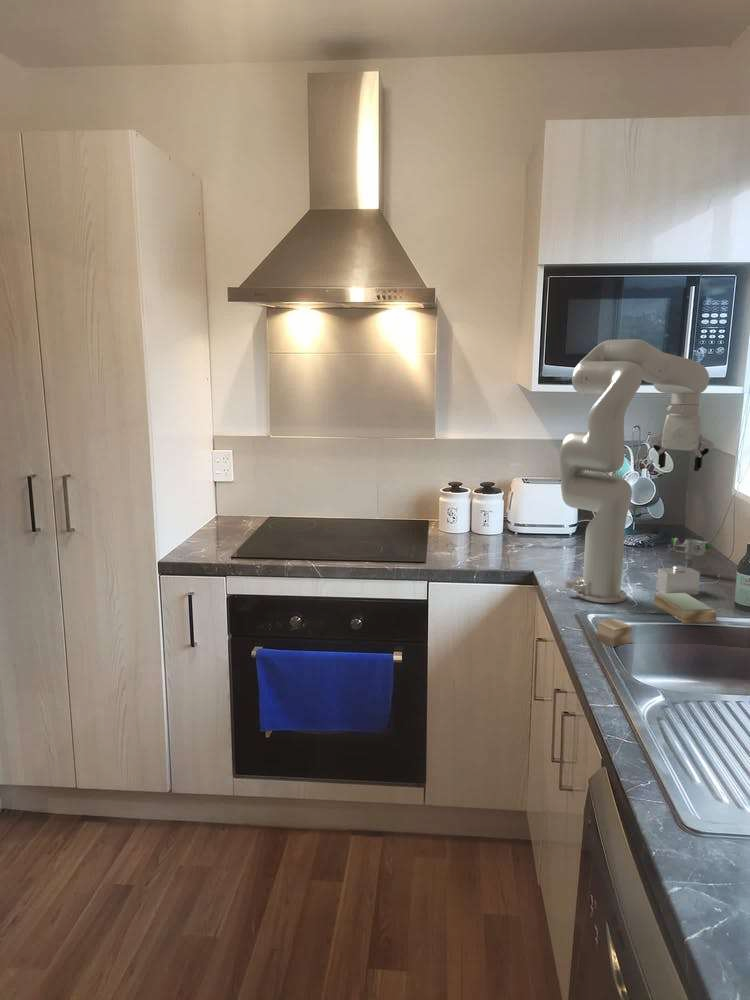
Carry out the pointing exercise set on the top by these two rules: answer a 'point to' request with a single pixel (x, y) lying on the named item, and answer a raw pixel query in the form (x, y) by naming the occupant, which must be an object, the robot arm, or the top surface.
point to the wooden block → (685, 608)
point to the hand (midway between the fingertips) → (679, 469)
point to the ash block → (614, 632)
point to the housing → (678, 580)
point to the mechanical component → (690, 549)
